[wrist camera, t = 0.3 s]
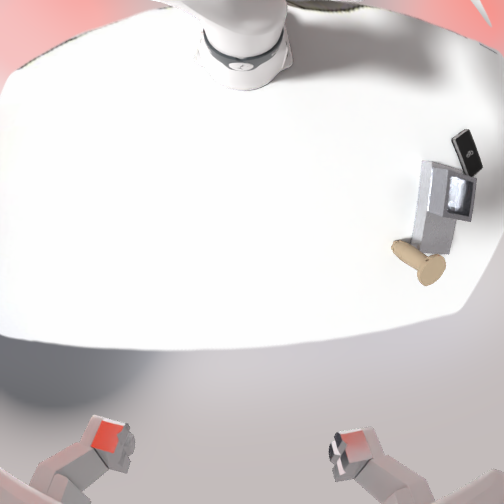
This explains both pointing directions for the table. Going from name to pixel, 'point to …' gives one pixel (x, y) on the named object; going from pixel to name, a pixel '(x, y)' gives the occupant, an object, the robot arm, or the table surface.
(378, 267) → the table surface
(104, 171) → the table surface
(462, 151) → the external hard drive
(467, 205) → the duct
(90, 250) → the table surface
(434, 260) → the handle
